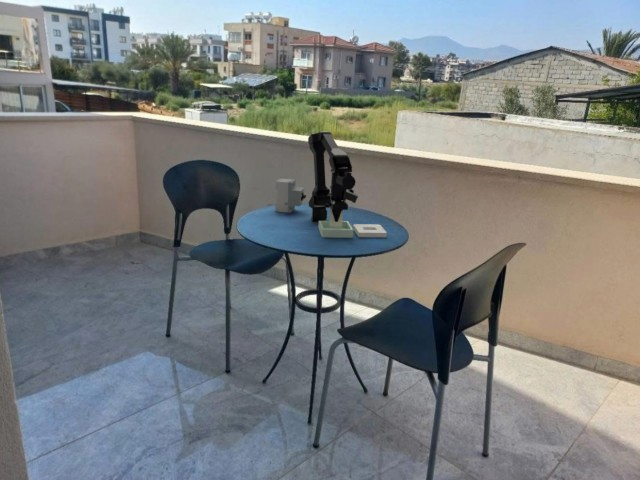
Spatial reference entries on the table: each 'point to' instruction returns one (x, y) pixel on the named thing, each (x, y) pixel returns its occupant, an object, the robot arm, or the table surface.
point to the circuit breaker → (288, 195)
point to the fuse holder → (369, 230)
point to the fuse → (335, 224)
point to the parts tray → (336, 230)
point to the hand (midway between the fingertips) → (335, 220)
